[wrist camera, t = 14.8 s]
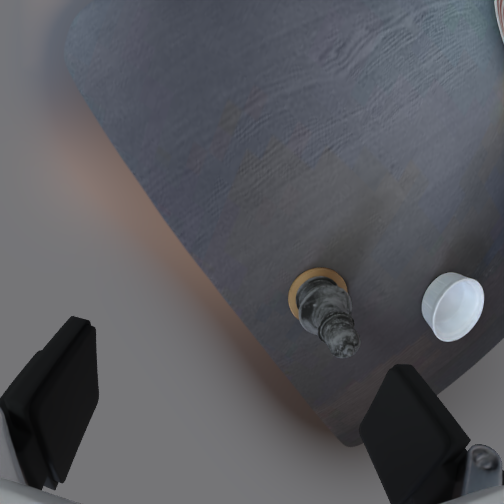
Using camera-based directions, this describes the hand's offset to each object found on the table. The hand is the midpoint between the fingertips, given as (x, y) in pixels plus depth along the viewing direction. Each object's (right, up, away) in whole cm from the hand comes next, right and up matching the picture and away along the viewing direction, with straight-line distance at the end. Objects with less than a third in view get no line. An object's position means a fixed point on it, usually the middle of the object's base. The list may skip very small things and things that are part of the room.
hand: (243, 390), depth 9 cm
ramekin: (+26, -2, +30) cm, 40 cm away
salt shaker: (+8, -1, +28) cm, 29 cm away
